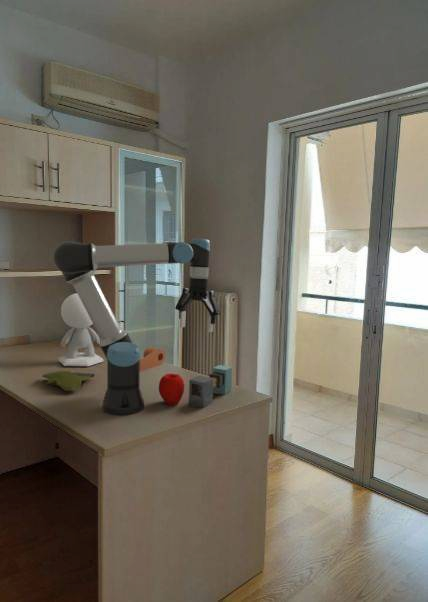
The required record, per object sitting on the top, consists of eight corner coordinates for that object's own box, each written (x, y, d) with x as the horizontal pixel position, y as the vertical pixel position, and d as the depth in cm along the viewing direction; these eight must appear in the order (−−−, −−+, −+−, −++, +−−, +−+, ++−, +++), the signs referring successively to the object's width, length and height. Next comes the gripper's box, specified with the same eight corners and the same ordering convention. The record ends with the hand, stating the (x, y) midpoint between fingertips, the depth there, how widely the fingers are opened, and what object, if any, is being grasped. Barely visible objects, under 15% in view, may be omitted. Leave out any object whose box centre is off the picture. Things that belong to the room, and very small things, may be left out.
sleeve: (203, 409, 166) (204, 382, 165) (188, 406, 169) (189, 379, 168) (212, 404, 172) (213, 378, 171) (198, 401, 175) (198, 375, 174)
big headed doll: (92, 354, 244) (92, 290, 240) (107, 364, 225) (107, 295, 221) (55, 358, 233) (54, 291, 229) (67, 368, 214) (66, 296, 210)
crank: (152, 360, 235) (153, 345, 234) (165, 363, 231) (165, 348, 230) (127, 369, 218) (127, 353, 217) (140, 371, 214) (140, 355, 213)
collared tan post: (208, 394, 170) (208, 381, 170) (197, 391, 172) (197, 379, 172) (227, 383, 184) (227, 372, 183) (217, 381, 186) (217, 370, 186)
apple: (152, 403, 171) (153, 372, 169) (172, 397, 178) (172, 368, 177) (170, 410, 164) (170, 378, 163) (189, 404, 171) (190, 373, 170)
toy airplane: (110, 386, 190) (110, 375, 189) (61, 397, 175) (61, 385, 174) (80, 372, 210) (80, 361, 209) (33, 380, 195) (33, 369, 194)
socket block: (225, 396, 182) (226, 370, 180) (212, 393, 185) (213, 367, 183) (231, 392, 187) (232, 367, 185) (218, 390, 189) (219, 364, 188)
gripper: (230, 279, 176) (227, 332, 178) (179, 274, 189) (176, 324, 191) (221, 280, 170) (218, 335, 172) (168, 275, 182) (166, 326, 185)
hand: (196, 329), depth 181 cm, fingers open, 13 cm apart
